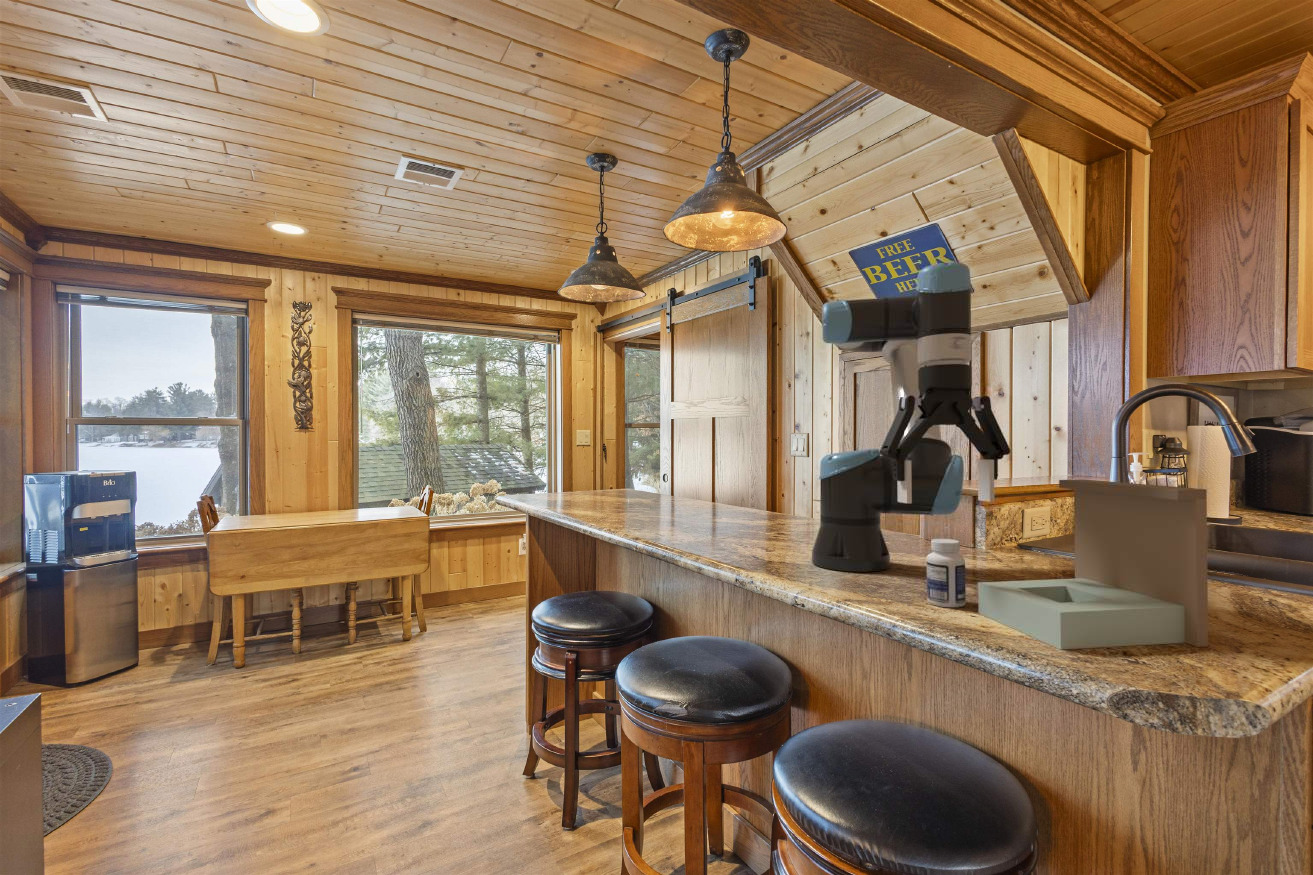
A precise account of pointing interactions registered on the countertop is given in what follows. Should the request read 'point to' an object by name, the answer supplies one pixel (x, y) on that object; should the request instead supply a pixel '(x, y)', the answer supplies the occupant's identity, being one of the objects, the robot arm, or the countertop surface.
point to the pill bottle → (946, 574)
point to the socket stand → (1118, 572)
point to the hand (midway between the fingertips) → (945, 502)
